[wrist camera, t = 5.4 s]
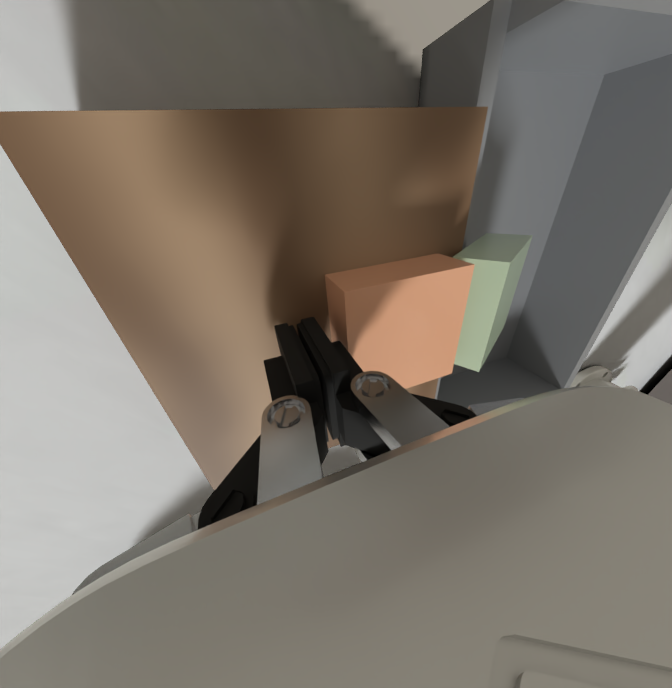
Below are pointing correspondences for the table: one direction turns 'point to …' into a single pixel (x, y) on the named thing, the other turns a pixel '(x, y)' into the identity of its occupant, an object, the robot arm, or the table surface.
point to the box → (559, 168)
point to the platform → (239, 232)
